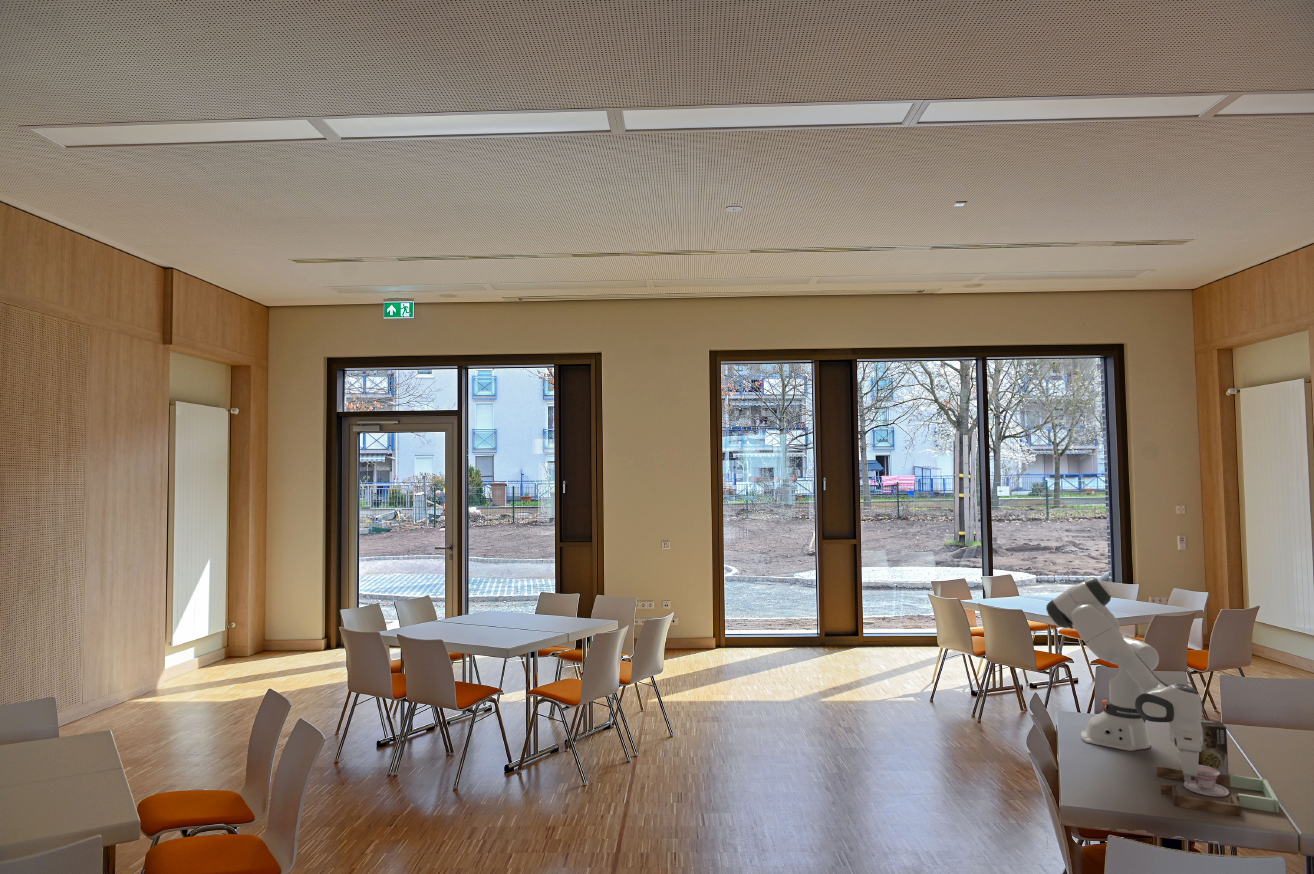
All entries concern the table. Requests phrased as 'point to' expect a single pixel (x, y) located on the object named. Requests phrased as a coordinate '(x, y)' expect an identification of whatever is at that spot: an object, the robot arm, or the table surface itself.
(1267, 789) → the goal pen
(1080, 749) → the table surface
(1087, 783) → the table surface
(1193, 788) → the teacup
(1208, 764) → the coffee box
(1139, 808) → the table surface
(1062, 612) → the robot arm
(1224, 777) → the channel
